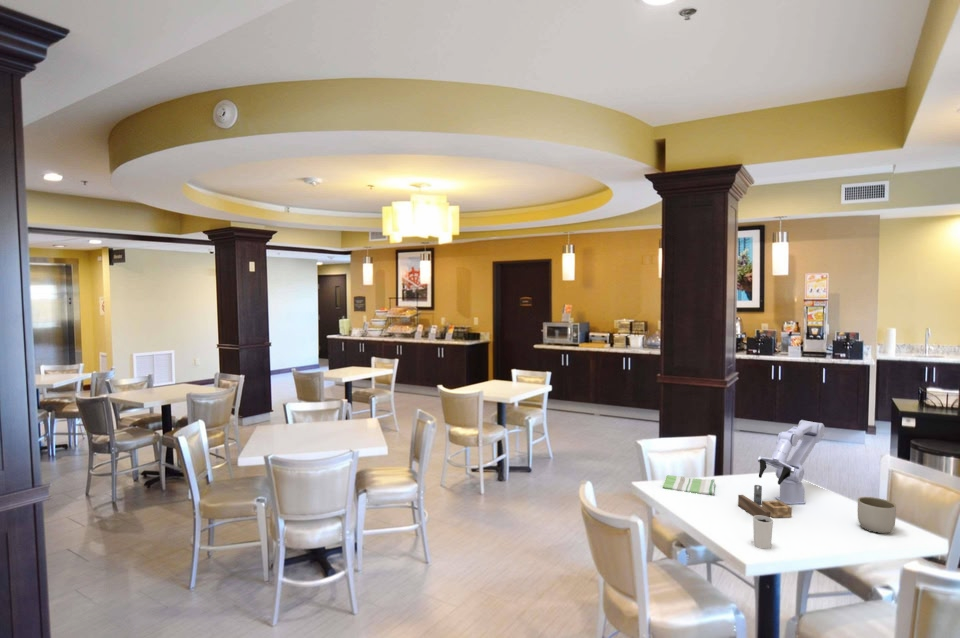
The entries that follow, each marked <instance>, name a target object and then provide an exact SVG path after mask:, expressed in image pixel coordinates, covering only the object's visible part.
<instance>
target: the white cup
mask: <svg viewBox="0 0 960 638" xmlns="http://www.w3.org/2000/svg"><path fill="white" fill-rule="evenodd" d="M752 520H753V523H752V524H753V525H752V526H753V530H752V531H753V545H754V547H757V548H760V549H763V550H768V549H771V548H772V538H773V528H774V527H773V525H774V518H773V517H772V518H771V517H770V518H769V517H766V516H762V515H756V516H752Z"/></svg>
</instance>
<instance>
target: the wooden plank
mask: <svg viewBox="0 0 960 638" xmlns="http://www.w3.org/2000/svg"><path fill="white" fill-rule="evenodd" d="M737 496H738V497H737V498H738V499H737V507H739V508H740V509H741V510H743V511H745V512H746V513H747V514H749V515H750V516H752V517H753V516H756V515H762V516H766V517H769V518H771V516H770V512H769V511H768V510H766V509H765V508H763V507H762V505H758V504H757V503H755V502H754V500H752V499H750V498H748V497H747V496H746V495H744V494H738V495H737Z"/></svg>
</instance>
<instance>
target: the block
mask: <svg viewBox="0 0 960 638" xmlns="http://www.w3.org/2000/svg"><path fill="white" fill-rule="evenodd" d="M761 507H763V508H765V509H766V510H768V511H769V512H770V517H772V519H774V518H776V519H778V518H792V513H793V512H792V509H793V508H792V506H790V505H789V504H785V503H783V502H781V501H780V500H761Z"/></svg>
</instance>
